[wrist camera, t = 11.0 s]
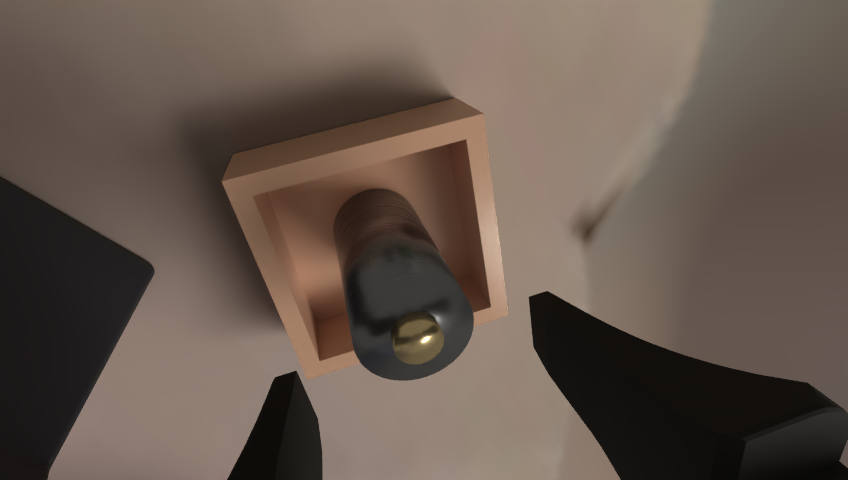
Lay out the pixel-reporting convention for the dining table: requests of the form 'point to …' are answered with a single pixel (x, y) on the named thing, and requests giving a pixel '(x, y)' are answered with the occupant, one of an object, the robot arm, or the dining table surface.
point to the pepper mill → (398, 289)
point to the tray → (351, 174)
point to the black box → (54, 324)
